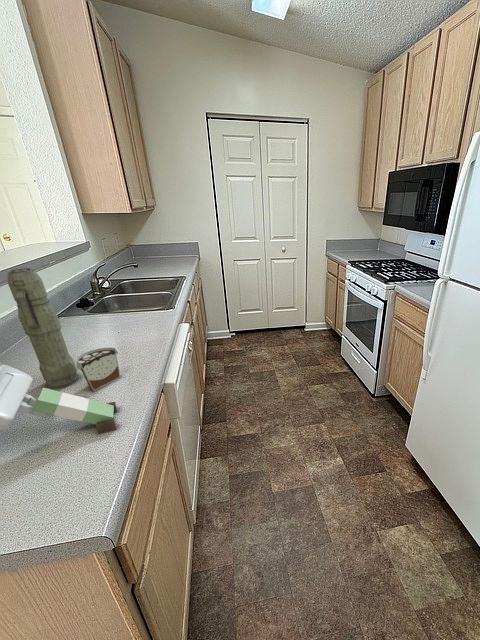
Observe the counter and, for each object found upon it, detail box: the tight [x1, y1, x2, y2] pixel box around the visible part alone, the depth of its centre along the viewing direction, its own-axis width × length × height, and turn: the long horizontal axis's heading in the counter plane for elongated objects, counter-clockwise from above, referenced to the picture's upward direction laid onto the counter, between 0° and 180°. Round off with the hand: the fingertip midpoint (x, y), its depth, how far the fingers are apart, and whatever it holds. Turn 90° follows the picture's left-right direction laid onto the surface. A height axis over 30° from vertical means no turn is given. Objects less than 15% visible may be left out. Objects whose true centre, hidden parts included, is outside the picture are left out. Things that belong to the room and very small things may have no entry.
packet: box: [33, 387, 114, 425], centre depth 82 cm, size 16×6×3 cm
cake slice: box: [75, 347, 121, 392], centre depth 103 cm, size 12×6×10 cm, turn 154°
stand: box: [95, 401, 118, 435], centre depth 86 cm, size 4×10×2 cm, turn 25°
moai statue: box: [6, 267, 80, 389], centre depth 98 cm, size 9×12×35 cm
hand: (42, 410), depth 79 cm, fingers closed, pressing on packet
